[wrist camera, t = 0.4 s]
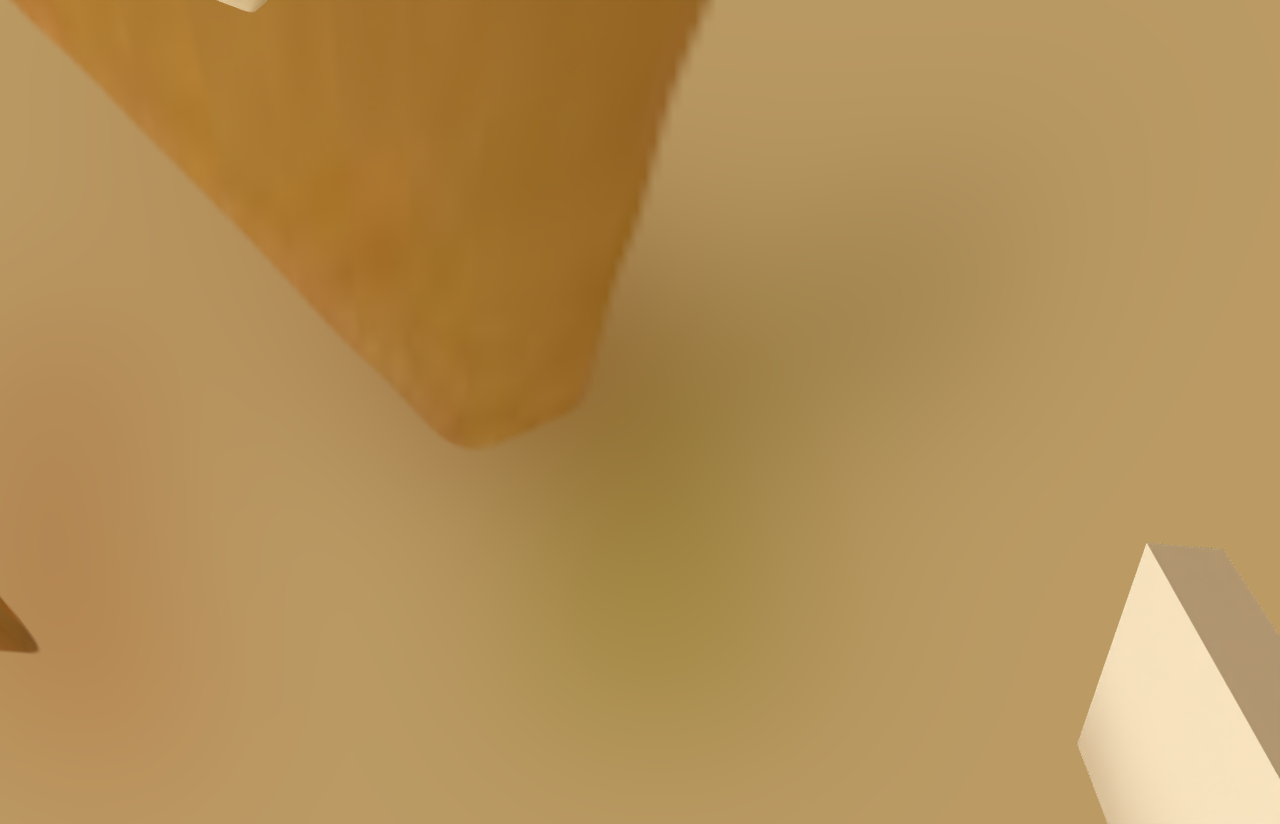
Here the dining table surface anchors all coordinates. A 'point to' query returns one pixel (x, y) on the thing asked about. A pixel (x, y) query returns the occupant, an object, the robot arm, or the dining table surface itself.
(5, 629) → the dining table surface
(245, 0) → the milk
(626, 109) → the dining table surface
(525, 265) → the dining table surface
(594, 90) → the dining table surface
